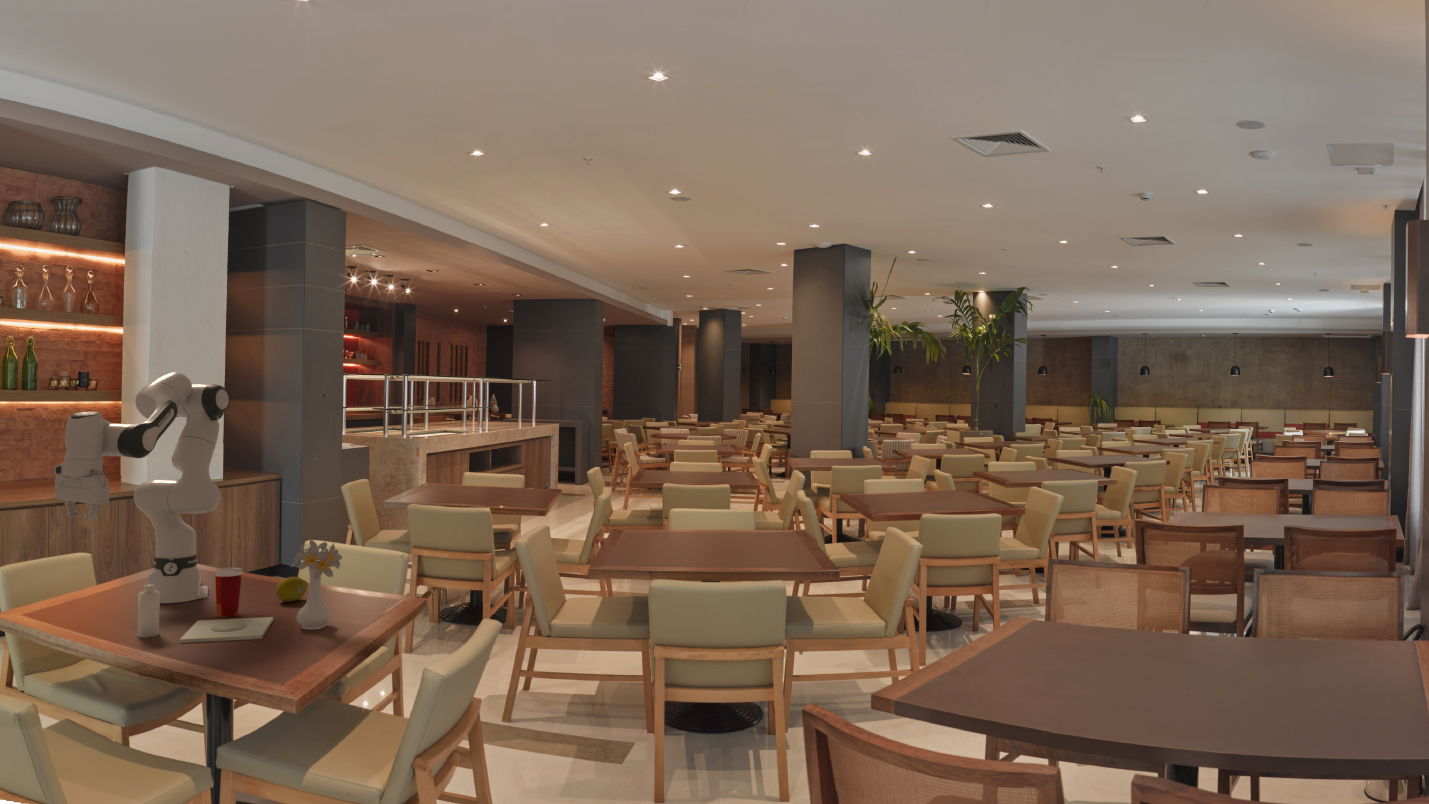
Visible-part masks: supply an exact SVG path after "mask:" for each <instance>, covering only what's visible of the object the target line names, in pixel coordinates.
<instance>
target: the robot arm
mask: <svg viewBox="0 0 1429 804" xmlns="http://www.w3.org/2000/svg"><path fill="white" fill-rule="evenodd" d="M134 404H135V407H136V410H137V411H138V413H140V414H141V416H143V417H144V418H145V419H146V420H145V421H144V422H140V423H117V422H115V423H114V422H113V423H112V422H111V421H108V420H106V419H105V418H103V416H102V413H101V412H99V411H78V412H75V413H72V414H71V415H69V417H68V419H67V422H66V425H65V426H66V427H65V433H64V435H65V436H64V446H65V448H66V451H65V454H64V457H63V462H62V463H60V464H58V465H56V466H54V469H53V470H54V471H53V473H54V475H55V478H54V495H55V498H56V499H57V500H60V501H64V506H65V509H66V516H67V517H70V518H72V517H73V518H74V517H76V516H77V514H78V510H77V509H76V506H75V504H76V503H83V504H88V508H89V510H88V512H86V519H87V520H91V521H92V520H96V519H97V513H98V511H99V509H100V507H101V506H100V505H104V504H105V505H106V504H108V503H109V501H110V483H109V479H108V477H107V475H105V473H104V471H103V468H104V467H103V465H104V464H103V463H104V461H103V460H104V457H103V456H107V457H108V456H109V457H125V458H132V459H133V458H135V459H143V458H145V457H147V456H148V455H150V453H151V452H152V451H153V450H154V448H155V447H156V445H157V442H158V441H159V439H160V438H161V437H162V436H163V435H164V433H165V432H166V431H167V429H168V428H169V427H170V426H171V425H172V424H173V422H174V421H175V419H176V418H179V417H180V418H185V419H186V420H185V421H186V423H185V425H184V427H183V428H182V431H181V432H180V435H179V438H178V440H177V443H176V445H175V447H174V451H173V453H172V456H171V463H172V465H173V467H174V468H175V469H176V470H177V471H179V472H180V473H182V475H181V478H180V479H171V478H170V479H168V478H167V479H165V478H163V479H162V478H158V479H152V480H151V479H150V480H146V481H145V480H144V481H142V482H140V484H138V485H137V487H136V488H135V490H134V492H133V500H134V504H135V506H136V508H138V509H139V510H140V511H141V512H143V513H144V514H145V516H147V518H148V519H149V521H150V522H151V524H152V527H153V530H154V535H155V555H154V557H153V570H152V571H151V572H150V573H149V574H148V575H147V584H146V585H148V584H154V585H155V590H157V591H160V604H175V603H176V604H177V603H184V602H190V601H194V600H200V599H201V600H202V599H206V598H208V596H209V595H208V594H209V593H208V592H209V586H208V585H204V582H201V581H202V578H201V577H202V573H201V571H200V569H199V568H198V566H197V565H198V554H197V552H196V547H197V546H196V545H197V533H196V530H195V528H194V527H192V526H191V525H189V524H187V523H186V522H185V521H184V519H182V516H181V514H185V515H187V514H189V515H198V514H203V513H204V514H205V513H211V512H213V511H214V510H215V509H216V508H217V507H218V505H219V504H220V502H221V498H222V497H221V495H222V494H221V490H220V488H219V487H218V485H217V484H216V483H214V481H213V480H212V478H211V475H210V466H211V461H212V458H213V455H214V451H215V449H216V446H217V442H218V439H219V438H218V437H219V431H220V422H219V421H218V420H220V419H221V418H223V415H224V414H225V413H226V411H227V410H228V407H229V406H230V405H229V404H230V394H229V393H228V390H227V388H225V386H223V385H220V384H213V383H209V384H206V383H205V384H204V383H192V382H191V380H190V379H189V378H188V377H187V376H186V375H185V374H183V373H181V372H178V371H173V372H168V373H165V374H163V375H161V376H158V377H157V378H155V379H154V380H152V381H150V382H149V383H148V384H146V385H145V386H144V387H142V388H141V389H140V390H139V391H138V392H137V394H136V396H135V403H134Z"/></svg>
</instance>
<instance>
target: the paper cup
mask: <svg viewBox="0 0 1429 804" xmlns="http://www.w3.org/2000/svg"><path fill="white" fill-rule="evenodd" d="M243 574H244V572H243V570H242V568H240V567H223V568H218V569H216V571H215V573H214V577H215V604H216V605H215V606H216V617H217V616H218V617H217V618H223V617H224V618H232V616H233V617H236V616H238V615H237V614H239V606H240V598H241V587H242V575H243Z"/></svg>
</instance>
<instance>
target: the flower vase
mask: <svg viewBox="0 0 1429 804" xmlns="http://www.w3.org/2000/svg"><path fill="white" fill-rule="evenodd" d="M309 545H310V546H309V548H304V544H303V543H301V546H300V548H299V552H298V553H297V554H296V556H295V558H294V562H293V563H292V564H291V566H290V568H293V566H295V565H297V564H298V563H299V562H301V561H302V562H301V563H300V564H299V565H298V570H303V569H305V568H307V567H308V571H309V586H308V587H309V588H308V597H307V599H306V602H305V604H304V605H303V606H302V607H301V608H300V609H299V611H298V612H297V615H296V621H297V622H298V623H299V624H300V625H302V629H303V630H306V631H307V630H309V631H317V630H321V629H324V628H325V627H326V624H327V623H328V622H329V621H330V620H331V618H332V611H331V609H330V608H329V607H328V606H327V605H326V604H325V602H324V600H323V597H322V588H321V587H322V583H321V582H322V575H323V574H324V575H325V576H326V577H329V578H332V577H333V576H334V573H333V572H334V571H333V570H332V569H331V568H332V567H334V568H336V569H337V570H340V567H341V562H340V561H341V560H343V555H341V554H339V550H338V549H336V547H335V543H334V542H332V544H331V546H330V548H329V549H328V548H327V547H328V542H326V541H324V542H323V541H322V542H321V543H319V545H318V544H317V543H316V542H315V541H314V540H313V539H311V540H309Z"/></svg>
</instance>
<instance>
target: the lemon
mask: <svg viewBox="0 0 1429 804" xmlns="http://www.w3.org/2000/svg"><path fill="white" fill-rule="evenodd" d="M308 585H309V583H308V581H307V580H305V579H303V578H301V577H298V576H290V577H286V578H283V579H282V580H280V582H279V583H278V584H277V586H276V592H275V593H276V597H277V598H278V599H279V600H281V601H282V602H284V603H293V601H294V602H296V601H298V600H300V599H301V598H302V597H303V596H304V595H305V594H306V591H307V589H308V587H309V586H308Z"/></svg>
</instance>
